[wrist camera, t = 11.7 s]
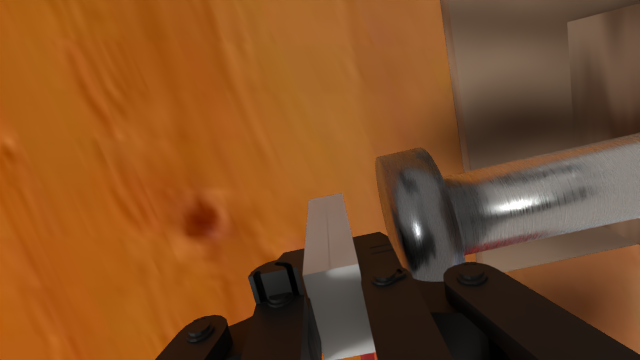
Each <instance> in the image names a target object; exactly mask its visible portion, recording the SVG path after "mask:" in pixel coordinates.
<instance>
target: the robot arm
mask: <svg viewBox="0 0 640 360" xmlns="http://www.w3.org/2000/svg"><path fill="white" fill-rule="evenodd" d="M248 279H249V282H250V285H251V289H252V292H253V295H254V299H255V302H256V307H255V311H254V314H253V316H251V317H250V318H248V319H246V320H244V321H241V322H239V323H236V324H234V325H231V326H228V323H227V320H226V319H225V318H224V317H222V316H219V315H211V316H204V317H201V318H200V319H199V318H198V319H196V320H194V321H193V322H192V323H190V324H188V325H187V326H185V327H184V328H183V329H182V330H181V331H180V332H179V333H178V334H177V335H176V336H175V337H174V339H173V340H172V341H171V342H170V343H169V344H168V345H167V347H166V348H165V349H164V350H163V351H162V352H161V354H160V355H159V356H158V357H157V358H156V359H155V360H322V353H323V357H324V360H336V359H342V358H347V357H352V356H357V355H363V354H368V353H373V352H376V356H377V360H640V355H639V354H638V353H636V352H634V351H633V350H631V349H629V348H628V347H626V346H624V345H623V344H621V343H619V342H618V341H616V340H615V339H613V338H611V337H610V336H608V335H606V334H605V333H603V332H601V331H600V330H598V329H596V328H595V327H593V326H591V325H590V324H588V323H586V322H585V321H583V320H581V319H580V318H578V317H576V316H575V315H573V314H571V313H570V312H568V311H566V310H565V309H563V308H561V307H560V306H558V305H556V304H555V303H553V302H551V301H550V300H548V299H546V298H545V297H543V296H541V295H540V294H538V293H536V292H535V291H533V290H531V289H530V288H528V287H526V286H525V285H523V284H521V283H520V282H518V281H516V280H515V279H513V278H511V277H510V276H508V275H506V274H505V273H503V272H501V271H500V270H498V269H496V268H495V267H492V266H490V265H487V264H482V263H477V262H470V263H469V262H465V263H462V264H457V265H454V266H452V267H450V268H448V269H447V270H446V271H445V273H444V274H443V281H438V282H432V281H421V280H417V279H414V278H413V277H412V275H411V273H410V272H409V271H408V270H407V269H406V268H403V267H402V265H401V263H400V261H399V259H398V257H397V255H396V252H395V250H394V248H393V246H392V245H391V242H390V240H389V238H388V236H386V235H384V234H382V233H381V232H376V233H372V234H367V235H362V236H357V237H352V234H351V230H350V225H349V221H348V217H347V212H346V208H345V204H344V199H343V195H342V193H340V194H335V195H330V196H326V197H321V198H316V199H312V200H309V204H308V216H307V228H306V239H305V249H300V250H295V251H290V252H285V253H283V254H282V255H281V256H280V258H279V259H278V260H275V261H272V262H268V263H266V264H263V265H261V266H259V267H258V268H256V269H255V270H254V271H252V272H251V274H250V275H249V277H248ZM321 349H322V350H321Z"/></svg>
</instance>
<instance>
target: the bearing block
mask: <svg viewBox="0 0 640 360" xmlns="http://www.w3.org/2000/svg"><path fill="white" fill-rule="evenodd" d="M440 3H441V10H442V18H443V25H444V32H445V39H446V46H447V53H448V60H449V68H450V75H451V82H452V89H453V96H454V103H455V110H456V118H457V125H458V132H459V139H460V146H461V153H462V160H463V167H464V172H468V171H472V170H477V169H481V168H486V167H490V166H495V165H499V164H503V163H508V162H512V161H517V160H521V159H526V158H530V157H534V156H539V155H543V154H548V153H552V152H557V151H561V150H565V149H570V148H574V147H579V146H583V145H588V144H592V143H597V142H601V141H605V140H610V139H614V138H619V137H623V136H628V135H632V134H636V133H640V0H440ZM636 244H639V245H640V218H637V219H632V220H627V221H623V222H618V223H613V224H609V225H604V226H599V227H595V228H590V229H585V230H580V231H576V232H571V233H566V234H562V235H557V236H552V237H548V238H543V239H538V240H534V241H529V242H524V243H520V244H515V245H510V246H506V247H501V248H496V249H492V250H487V251H482V252H477V253H476V260H477V263H482V264H487V265H490V266H492V267H495V268H496V269H498V270H500V271H501V272H508V271H513V270H517V269H522V268H527V267H532V266H536V265H541V264H546V263H551V262H555V261H560V260H565V259H570V258H575V257H579V256H584V255H589V254H594V253H598V252H603V251H608V250H613V249H617V248H622V247H627V246H632V245H636Z"/></svg>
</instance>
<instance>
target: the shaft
mask: <svg viewBox="0 0 640 360" xmlns="http://www.w3.org/2000/svg"><path fill="white" fill-rule="evenodd" d="M375 166H376V178H377V185H378V192H379V197H380V202H381V207H382V212H383V217H384V221H385V225H386V229H387V233H388V237H389V240H390V242H391V245H392V246H393V248H394V250H395V252H396V255H397V257H398V259H399V261H400V263H401V265H402V267H403V268H406V269H407V270H408V271H409V272H410V273H411V275H412V277H413V278H414V279H417V280H421V281H432V282H438V281H443V274H444V273H445V271H446V270H447V269H448V268H450V267H452V266H454V265H457V264H462V263H465V258H464V255H468V254H473V253H477V252H482V251H487V250H492V249H496V248H501V247H506V246H510V245H515V244H520V243H524V242H529V241H534V240H538V239H543V238H548V237H552V236H557V235H562V234H566V233H571V232H576V231H580V230H585V229H590V228H595V227H599V226H604V225H609V224H613V223H618V222H623V221H627V220H632V219H637V218H640V133H636V134H632V135H628V136H623V137H619V138H614V139H610V140H605V141H601V142H597V143H592V144H588V145H583V146H579V147H574V148H570V149H565V150H561V151H557V152H552V153H548V154H543V155H539V156H534V157H530V158H526V159H521V160H517V161H512V162H508V163H503V164H499V165H495V166H490V167H486V168H481V169H477V170H472V171H468V172H464V173H459V174H455V175H450V176H446V177H442V175H441V173H440V171H439V169H438V167H437V165H436V164H435V162H434V160H433V159H432V157H431V156H430V154H429V153H428V152H427V151H426V150H425V149H423V148H421V147H420V148H415V149H410V150H406V151H402V152H397V153H393V154H389V155H384V156H380V157H377V158H376V163H375Z"/></svg>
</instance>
